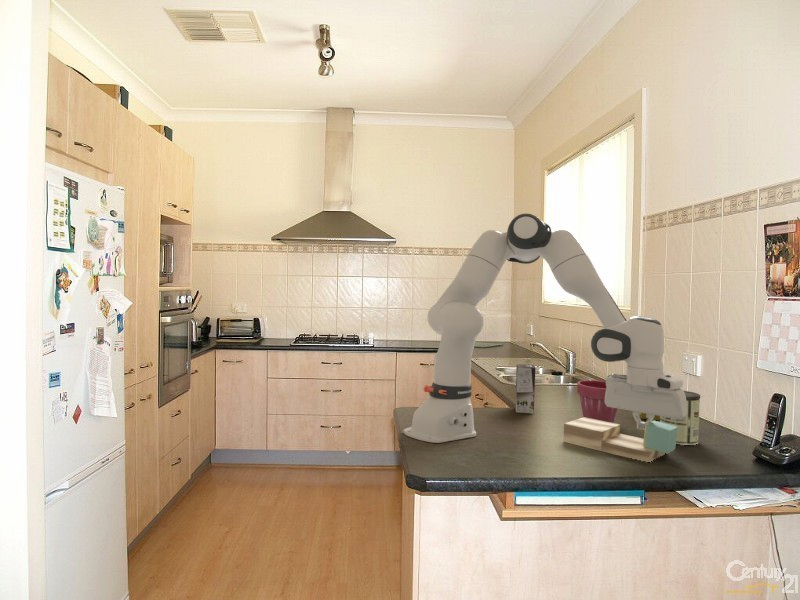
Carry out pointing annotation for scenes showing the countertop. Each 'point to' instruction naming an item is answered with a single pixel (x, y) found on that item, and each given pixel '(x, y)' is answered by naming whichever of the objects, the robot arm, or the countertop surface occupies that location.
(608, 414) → the plant pot
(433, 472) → the countertop surface
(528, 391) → the coffee box
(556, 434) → the countertop surface
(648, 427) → the teal cube
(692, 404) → the coffee can
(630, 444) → the stair
